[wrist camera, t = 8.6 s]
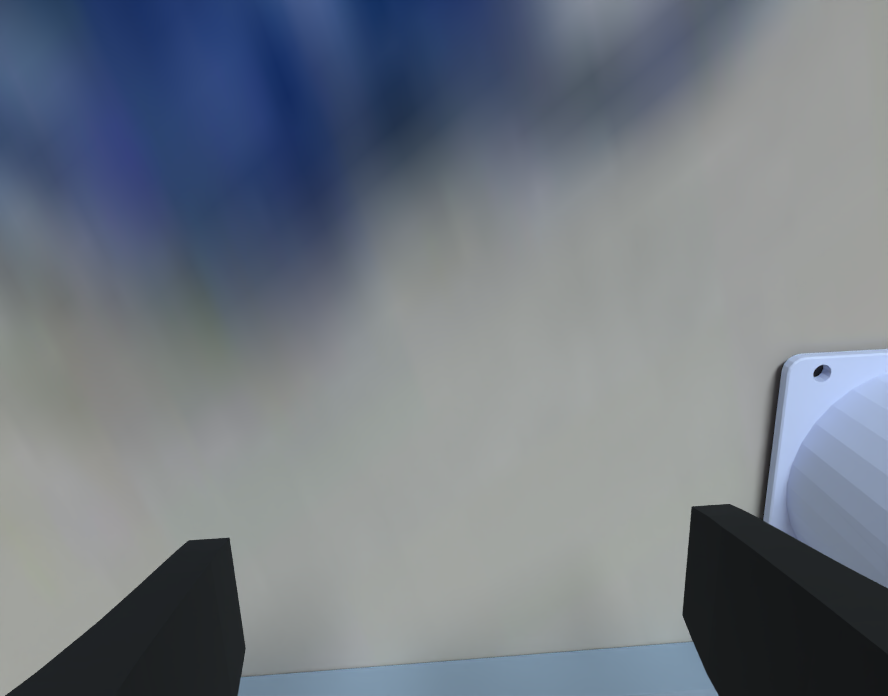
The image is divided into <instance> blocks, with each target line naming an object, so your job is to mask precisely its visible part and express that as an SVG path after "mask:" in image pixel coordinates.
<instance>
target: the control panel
mask: <svg viewBox="0 0 888 696" xmlns="http://www.w3.org/2000/svg"><path fill="white" fill-rule="evenodd" d="M238 696H719V695H718V693H717V692H716V690H715V688H714V686H713V684H712V683H711V681H710V679H709V677H708V675H707V673H706V671H705V669H704V666H703V664H702V662H701V659H700V657H699V655H698V652H697V650H696V648H695V645H694V643H693V642H684V643H671V644H658V645H646V646H633V647H620V648H607V649H595V650H582V651H569V652H556V653H544V654H531V655H518V656H506V657H493V658H480V659H467V660H455V661H442V662H429V663H416V664H404V665H391V666H378V667H366V668H353V669H340V670H327V671H315V672H302V673H289V674H276V675H264V676H251V677H241V679H240V685H239V691H238Z"/></svg>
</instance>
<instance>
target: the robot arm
mask: <svg viewBox="0 0 888 696" xmlns="http://www.w3.org/2000/svg"><path fill="white" fill-rule="evenodd" d="M820 365H823V370H822V373H821V374H820V375H818V376H816V377H813V373H814V371H815V369H816V368H817V367H818V366H820ZM682 615H683V618H684V620H685V623H686V625H687V628H688V630H689V633H690V635H691V638H692V640H693V643H694V645H695V648H696V650H697V652H698V655H699V657H700V659H701V662H702V664H703V666H704V669H705V671H706V673H707V675H708V677H709V679H710V681H711V683H712V684H713V686H714V688H715V690H716V692H717V693H718V695H719V696H888V349H877V350H859V351H841V352H823V353H805V354H797V355H794V356H792V357H791V358H789V359H788V360H787V361H786V363H785V364H784V365H783V369H782V372H781V380H780V389H779V397H778V405H777V413H776V421H775V429H774V437H773V446H772V454H771V462H770V470H769V478H768V486H767V495H766V503H765V511H764V519H763V520H761V519H759V518H757V517H755V516H754V515H752V514H750V513H748V512H746V511H744V510H742V509H740V508H737V507H735V506H733V505H731V504H723V505H708V506H693V507H692V510H691V522H690V533H689V545H688V557H687V568H686V580H685V591H684V603H683V614H682ZM244 655H245V641H244V635H243V628H242V621H241V614H240V607H239V600H238V593H237V587H236V580H235V573H234V566H233V559H232V552H231V545H230V538H218V539H204V540H189V541H188V542H186V543H185V544H184V545H183V546H182V547H180V548H179V549H178V550H177V551H176V552H175V553H174V554H173V555H171V556H170V557H169V558H168V559H167V560H166V561H165V562H164V563H163V564H162V565H160V566H159V567H158V568H157V569H156V570H155V571H154V572H153V573H152V574H151V575H150V576H149V577H147V578H146V579H145V580H144V581H143V582H142V583H141V584H140V585H139V586H138V587H137V588H135V589H134V590H133V591H132V592H131V593H130V594H129V595H128V596H127V597H125V598H124V599H123V600H122V601H121V602H120V603H119V604H118V605H116V606H115V607H114V608H113V609H112V610H111V611H110V612H109V613H108V614H106V615H105V616H104V617H103V618H102V619H101V620H100V621H98V622H97V623H96V624H95V625H94V626H93V627H91V628H90V629H89V630H88V631H86V632H85V633H84V634H83V635H82V636H80V637H79V638H78V639H77V640H75V641H74V642H73V643H72V644H71V645H69V646H68V647H67V648H66V649H64V650H63V651H62V652H61V653H60V654H58V655H57V656H56V657H55V658H53V659H52V660H51V661H50V662H49V663H47V664H46V665H45V666H44V667H43V668H41V669H40V670H39V671H38V672H36V673H35V674H34V675H32V676H31V677H30V678H28V679H27V680H26V681H24V682H23V683H22V684H20V685H19V686H18V687H16V688H15V689H14V690H12V691H11V692H10V693H8V694H7V695H5V696H238V691H239V685H240V679H241V673H242V667H243V661H244Z"/></svg>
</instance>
